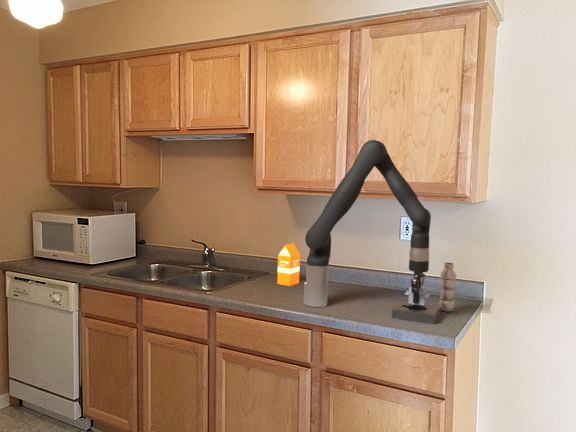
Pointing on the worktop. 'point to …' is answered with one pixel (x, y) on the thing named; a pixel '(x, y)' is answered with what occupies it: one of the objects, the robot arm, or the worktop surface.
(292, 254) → the orange juice
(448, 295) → the plastic bottle
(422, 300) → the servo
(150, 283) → the worktop surface
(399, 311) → the block with stepped hole
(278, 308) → the worktop surface
